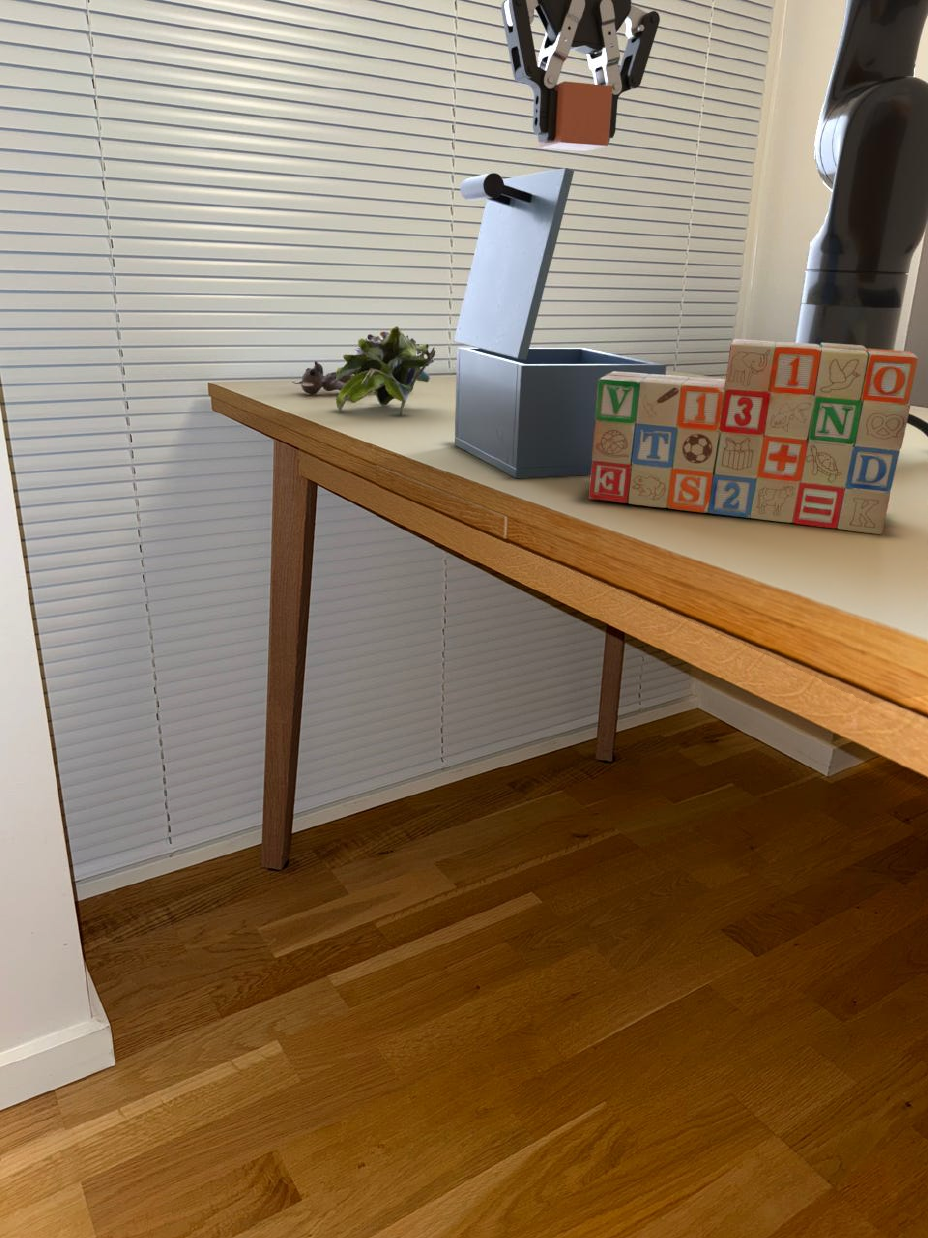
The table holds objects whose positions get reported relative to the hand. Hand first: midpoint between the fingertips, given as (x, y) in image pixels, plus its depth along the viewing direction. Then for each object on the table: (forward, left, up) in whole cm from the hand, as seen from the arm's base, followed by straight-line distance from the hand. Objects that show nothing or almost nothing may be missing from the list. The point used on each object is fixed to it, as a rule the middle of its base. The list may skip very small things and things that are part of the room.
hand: (573, 142), depth 80 cm
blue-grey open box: (+1, +2, -27) cm, 27 cm away
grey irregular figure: (+10, -44, -27) cm, 53 cm away
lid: (+6, +2, -10) cm, 12 cm away
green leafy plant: (+9, -28, -27) cm, 40 cm away
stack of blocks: (-4, +23, -27) cm, 36 cm away
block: (0, 0, 0) cm, 0 cm away
